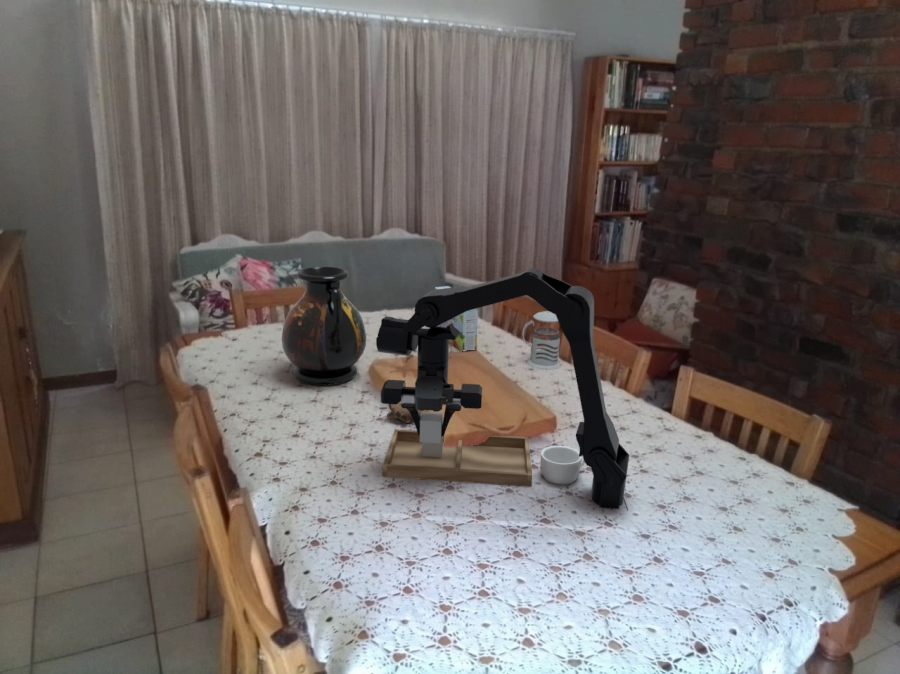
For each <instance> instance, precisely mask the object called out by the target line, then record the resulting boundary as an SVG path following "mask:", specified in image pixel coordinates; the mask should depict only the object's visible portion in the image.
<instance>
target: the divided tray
mask: <svg viewBox="0 0 900 674" xmlns="http://www.w3.org/2000/svg"><path fill="white" fill-rule="evenodd" d="M530 447H531V446H530V439H529V437H528V436H513V435H500V436H490V437H489V438H488V439H487V440H486V441H485V442H482V443H481V444H479V445H473V446H462V440H458V447H453V448H444V447H443V454H442V458H441V457H425V456H422V442H420V435H418V432H417V430H411V429H398V428H397V429H395V428H394V430H393V434H392V436H391V440H390V442H389V445H388V449H387V451H386V455H385V458H384V461H383V463H382V477H383V478H395V479H396V478H398V479H399V478H400V479H411V480H412V479H413V480H427V481H428V480H429V481H444V482H445V481H446V482H458V483H459V482H463V483H477V484H478V483H479V484H493V485H506V486H507V485H509V486H524V487H525V486H526V487H527V486H528V487H532V486H533V467H532V459H531V449H530Z"/></svg>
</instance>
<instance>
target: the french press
mask: <svg viewBox="0 0 900 674" xmlns="http://www.w3.org/2000/svg"><path fill="white" fill-rule="evenodd" d="M532 317H533V319H534V320H535V321H538V322H542V323H546V326H544V327H542V326H541V327H536V328H534V329H533V331H534V333H533V334H532V340H531V341H532V343H528V342H527V340H526V339H525V337H524V336H525V331H526V328H527V327H528V326H529V325H531V324H532V326H533V327H535V321H534V320H530V321H527V323H525V324H524V326H523V329H522V334H521V335H522V339H523V341H524V342H523V343H525V344H526V346H528V347H529V348H530V358H529V359H527V361H526V362H527V363H526V364H527V365H528V366H530V367H532V368H535V369H538V370H539V369H540V370H556V369H559V368H560V367H562V363H561V362H560V360H559V355H560V343H561V336H560V335H559V334H560V331H559V330H558V329H556V328H553V327H548V324H549V323H559V322H558V319H557V317H556V315H555V314H553V313H551V312H550V311H548V310H543V311H539V312H537V313H535V314H534V315H533V316H532ZM540 336H543V337H540ZM538 337H539V338H538ZM546 338H547V339H546ZM548 339H549V340H548Z"/></svg>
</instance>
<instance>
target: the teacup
mask: <svg viewBox="0 0 900 674" xmlns="http://www.w3.org/2000/svg"><path fill="white" fill-rule="evenodd" d="M579 453H580V450H578V449H575V448H573V447H570V446H565V445H551V446H547V447H545V448H543V449H542V450H541V451H540V472H541V474H542V476H543V478H544V479H545V480H546V481H547V482H550V483H552V484H556V485H568V484H572V483H573V482H575V481H576V480H577V478H578V477H579V473H580V470H581V468H582V467H583V466H584V465H586V463H585V462H584V459H583V455H582V456H581V457H579Z"/></svg>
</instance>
